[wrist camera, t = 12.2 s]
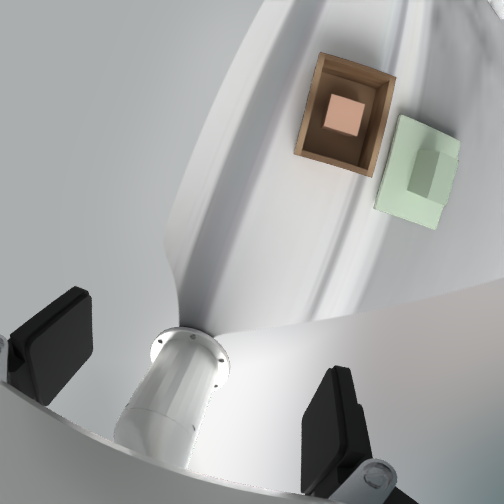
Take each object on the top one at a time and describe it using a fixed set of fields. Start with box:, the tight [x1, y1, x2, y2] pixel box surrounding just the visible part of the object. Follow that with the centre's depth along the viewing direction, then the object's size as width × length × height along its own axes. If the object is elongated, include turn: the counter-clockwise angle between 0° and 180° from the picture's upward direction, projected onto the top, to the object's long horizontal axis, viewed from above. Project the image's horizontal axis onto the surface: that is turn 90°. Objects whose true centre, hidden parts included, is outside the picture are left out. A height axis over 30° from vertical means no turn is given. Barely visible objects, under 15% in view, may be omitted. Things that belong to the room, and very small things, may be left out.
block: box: [321, 94, 365, 137], centre depth 30 cm, size 4×4×4 cm
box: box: [294, 52, 396, 178], centre depth 30 cm, size 11×8×6 cm
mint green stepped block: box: [374, 114, 461, 230], centre depth 30 cm, size 12×9×8 cm
